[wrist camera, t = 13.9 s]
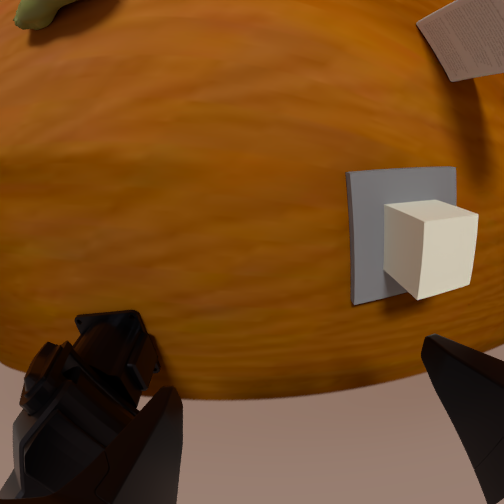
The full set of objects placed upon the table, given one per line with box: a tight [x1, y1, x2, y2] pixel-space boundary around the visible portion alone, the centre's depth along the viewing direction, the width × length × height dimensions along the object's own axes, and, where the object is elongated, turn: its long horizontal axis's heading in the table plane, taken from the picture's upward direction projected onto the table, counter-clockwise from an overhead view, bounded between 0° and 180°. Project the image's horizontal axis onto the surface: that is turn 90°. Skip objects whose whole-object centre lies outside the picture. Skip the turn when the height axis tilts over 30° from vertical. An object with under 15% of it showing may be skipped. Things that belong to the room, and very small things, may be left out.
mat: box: [346, 166, 456, 305], centre depth 19 cm, size 10×10×1 cm
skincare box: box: [416, 0, 504, 82], centre depth 9 cm, size 6×4×12 cm
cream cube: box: [383, 200, 478, 300], centre depth 17 cm, size 5×5×5 cm
